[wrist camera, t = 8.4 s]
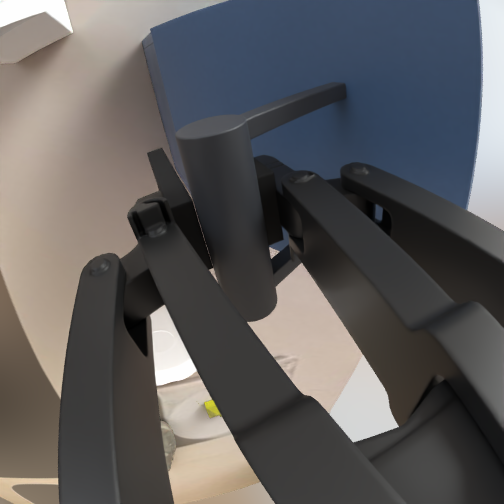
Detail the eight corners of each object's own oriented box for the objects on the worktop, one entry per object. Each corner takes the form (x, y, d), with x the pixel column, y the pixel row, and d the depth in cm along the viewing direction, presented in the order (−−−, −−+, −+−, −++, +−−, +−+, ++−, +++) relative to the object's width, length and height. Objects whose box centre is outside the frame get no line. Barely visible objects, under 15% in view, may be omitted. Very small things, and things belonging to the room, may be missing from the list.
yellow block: (239, 387, 67) (244, 397, 65) (242, 405, 73) (246, 414, 70) (196, 401, 64) (200, 412, 62) (203, 418, 70) (207, 428, 68)
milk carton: (15, 64, 22) (-72, 71, 8) (1, 12, 18) (-85, -18, 3) (73, 33, 23) (31, -1, 9) (59, -19, 19) (16, -88, 5)
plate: (222, 361, 60) (225, 368, 58) (117, 388, 53) (119, 395, 52) (214, 277, 48) (218, 284, 47) (78, 308, 41) (78, 316, 40)
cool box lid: (477, -14, 6) (399, -112, 1) (438, 310, 16) (356, 444, 11) (159, 26, 18) (40, 65, 13) (206, 212, 28) (121, 269, 23)
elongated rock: (139, 467, 78) (169, 462, 82) (144, 482, 74) (175, 476, 79) (131, 422, 59) (174, 414, 64) (138, 443, 56) (182, 434, 60)
